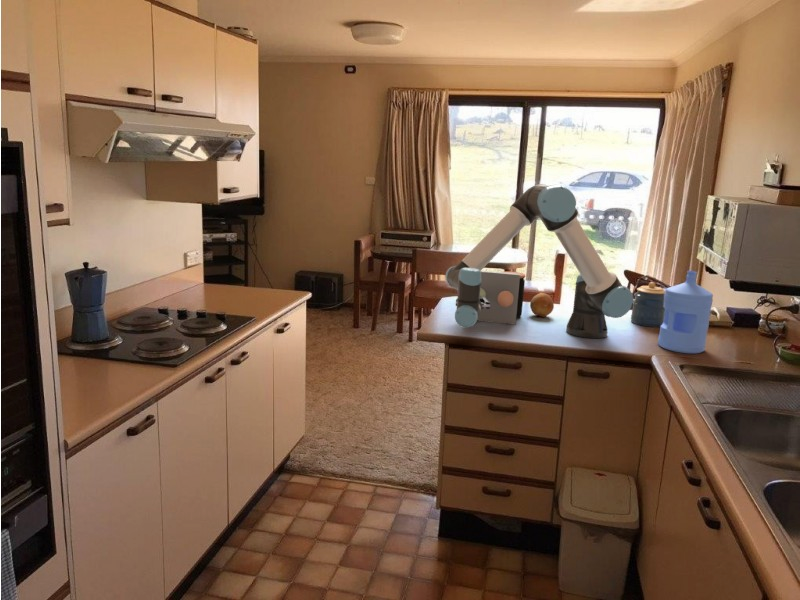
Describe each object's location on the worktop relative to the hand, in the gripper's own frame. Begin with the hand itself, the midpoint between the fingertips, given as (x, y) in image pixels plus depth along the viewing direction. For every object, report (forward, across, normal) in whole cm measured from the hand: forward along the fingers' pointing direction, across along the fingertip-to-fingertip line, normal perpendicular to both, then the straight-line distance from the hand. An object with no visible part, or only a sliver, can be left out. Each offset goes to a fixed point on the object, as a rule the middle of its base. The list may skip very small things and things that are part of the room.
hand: (477, 295), depth 241 cm
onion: (+22, +25, -11) cm, 36 cm away
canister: (+29, +69, -11) cm, 75 cm away
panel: (+5, +6, -11) cm, 13 cm away
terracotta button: (+2, +11, -3) cm, 12 cm away
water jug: (-6, +75, -11) cm, 76 cm away
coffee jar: (+18, +12, -11) cm, 24 cm away
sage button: (+5, 0, -3) cm, 5 cm away
